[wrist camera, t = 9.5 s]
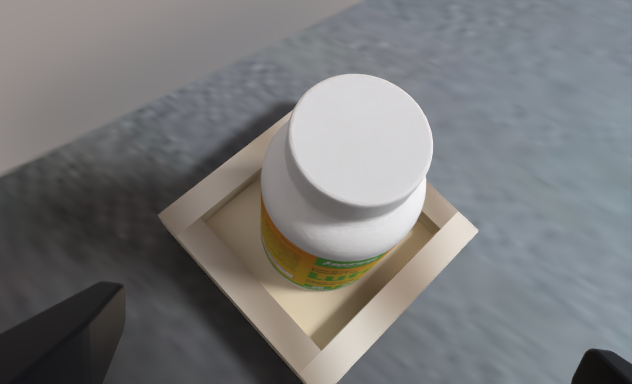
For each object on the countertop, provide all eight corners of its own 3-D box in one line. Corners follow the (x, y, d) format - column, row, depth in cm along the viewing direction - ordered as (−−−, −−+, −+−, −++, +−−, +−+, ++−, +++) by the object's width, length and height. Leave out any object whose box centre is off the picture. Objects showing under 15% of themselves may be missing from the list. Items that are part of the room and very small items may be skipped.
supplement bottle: (296, 316, 20) (324, 272, 11) (239, 209, 22) (224, 94, 13) (400, 257, 22) (499, 176, 13) (341, 160, 23) (392, 26, 14)
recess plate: (315, 396, 20) (320, 399, 18) (166, 228, 22) (157, 214, 20) (461, 242, 23) (478, 230, 22) (320, 105, 25) (324, 84, 23)
